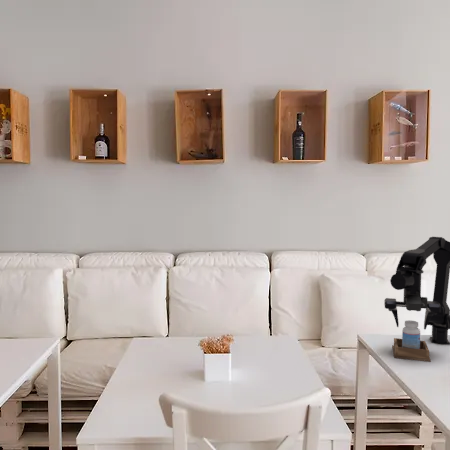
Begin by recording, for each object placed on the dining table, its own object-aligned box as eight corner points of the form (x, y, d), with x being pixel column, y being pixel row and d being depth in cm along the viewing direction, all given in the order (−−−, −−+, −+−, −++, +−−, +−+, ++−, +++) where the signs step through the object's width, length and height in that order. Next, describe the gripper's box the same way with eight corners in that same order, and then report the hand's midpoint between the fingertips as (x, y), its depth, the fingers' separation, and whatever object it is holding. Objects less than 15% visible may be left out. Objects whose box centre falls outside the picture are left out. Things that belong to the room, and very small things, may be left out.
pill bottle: (422, 354, 158) (423, 324, 158) (405, 354, 159) (406, 324, 158) (415, 349, 165) (416, 319, 164) (399, 349, 165) (400, 319, 164)
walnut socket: (392, 347, 169) (392, 337, 169) (426, 350, 165) (426, 340, 165) (394, 358, 158) (394, 347, 157) (430, 361, 154) (430, 351, 154)
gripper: (386, 288, 155) (385, 332, 156) (444, 292, 149) (442, 337, 150) (384, 283, 166) (383, 323, 167) (439, 286, 160) (437, 328, 161)
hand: (411, 328), depth 161 cm, fingers open, 9 cm apart
